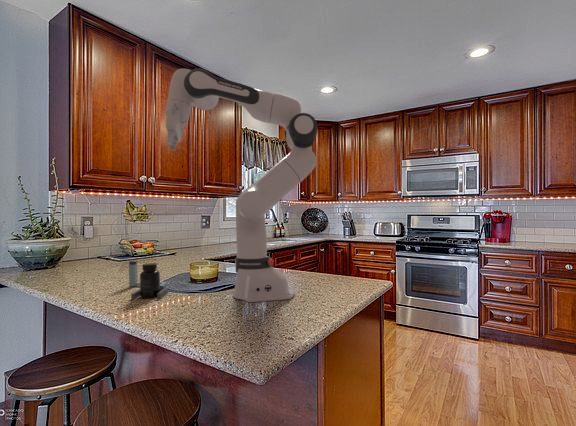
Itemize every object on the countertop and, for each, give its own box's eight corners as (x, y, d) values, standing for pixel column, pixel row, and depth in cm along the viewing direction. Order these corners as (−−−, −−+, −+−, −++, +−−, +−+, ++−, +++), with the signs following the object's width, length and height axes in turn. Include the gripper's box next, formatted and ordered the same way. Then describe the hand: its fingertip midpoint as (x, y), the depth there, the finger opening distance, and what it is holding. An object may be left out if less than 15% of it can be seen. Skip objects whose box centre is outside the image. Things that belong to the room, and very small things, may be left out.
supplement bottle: (164, 295, 121) (163, 263, 121) (147, 299, 115) (146, 266, 115) (152, 292, 125) (152, 261, 125) (136, 297, 119) (135, 264, 119)
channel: (168, 292, 124) (168, 287, 124) (160, 298, 116) (160, 293, 116) (140, 293, 124) (140, 288, 124) (131, 299, 116) (131, 293, 116)
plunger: (174, 283, 137) (173, 260, 137) (163, 292, 124) (163, 265, 124) (131, 284, 137) (131, 260, 136) (116, 292, 124) (116, 266, 124)
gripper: (184, 103, 112) (177, 142, 111) (187, 122, 132) (181, 155, 131) (165, 99, 111) (157, 138, 109) (171, 118, 130) (165, 152, 129)
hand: (170, 147), depth 120 cm, fingers open, 8 cm apart
